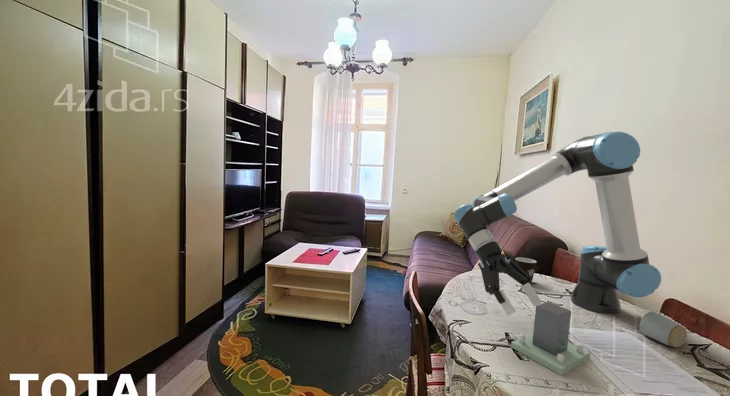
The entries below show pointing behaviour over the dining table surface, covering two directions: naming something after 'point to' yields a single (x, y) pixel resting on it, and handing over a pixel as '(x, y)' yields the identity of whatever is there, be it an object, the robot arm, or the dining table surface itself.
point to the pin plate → (555, 363)
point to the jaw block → (551, 328)
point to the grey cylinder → (663, 329)
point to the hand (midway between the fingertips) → (525, 309)
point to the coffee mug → (527, 266)
